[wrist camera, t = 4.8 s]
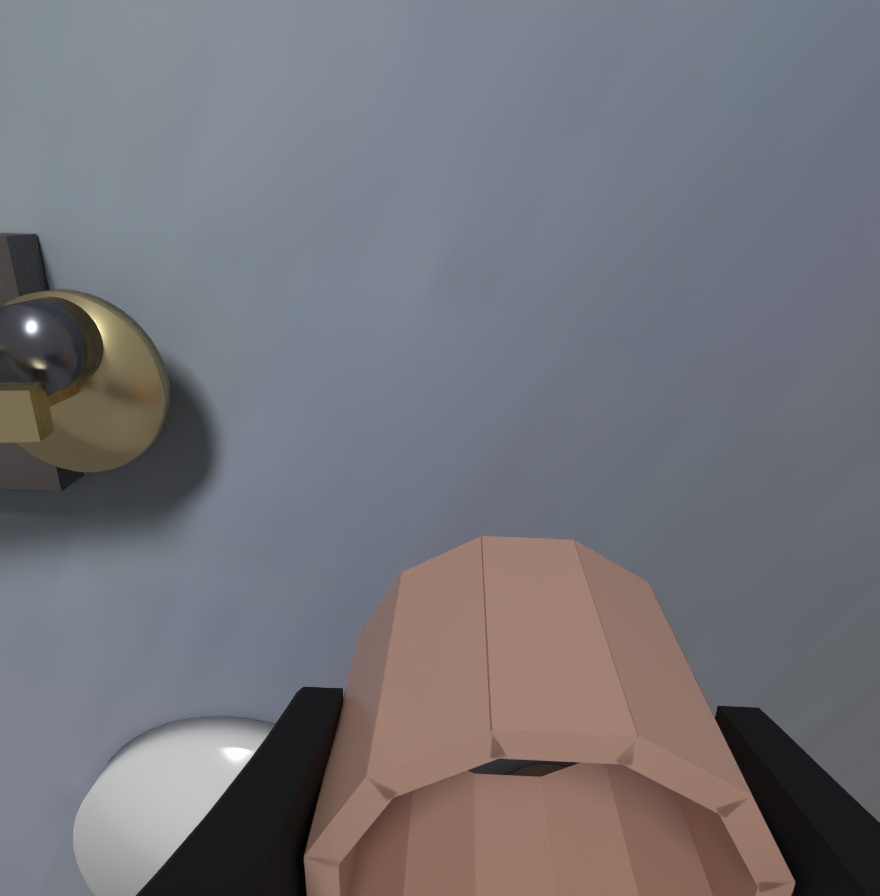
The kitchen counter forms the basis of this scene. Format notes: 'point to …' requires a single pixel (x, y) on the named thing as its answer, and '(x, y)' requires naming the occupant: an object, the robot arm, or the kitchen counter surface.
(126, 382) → the balance
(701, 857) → the sleeve
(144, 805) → the white glossy domed part
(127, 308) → the kitchen counter surface
